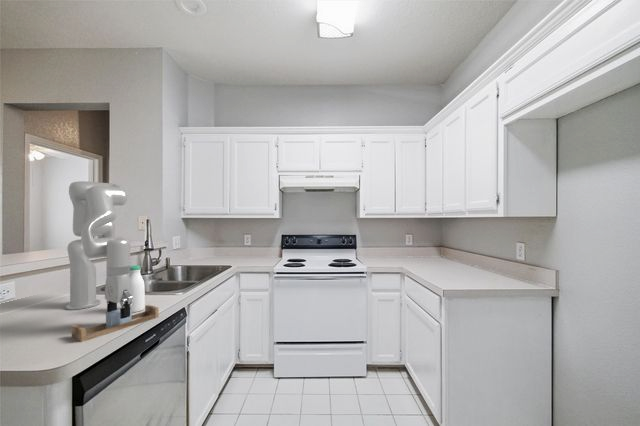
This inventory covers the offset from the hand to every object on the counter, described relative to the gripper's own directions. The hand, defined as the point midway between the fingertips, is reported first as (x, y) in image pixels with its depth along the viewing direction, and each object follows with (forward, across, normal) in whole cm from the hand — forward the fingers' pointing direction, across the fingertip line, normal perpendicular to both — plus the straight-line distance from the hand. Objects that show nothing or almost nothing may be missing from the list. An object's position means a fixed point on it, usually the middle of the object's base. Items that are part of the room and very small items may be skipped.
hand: (118, 315), depth 109 cm
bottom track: (+4, 0, 0) cm, 4 cm away
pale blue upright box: (+4, 0, 0) cm, 4 cm away
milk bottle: (+4, -14, +13) cm, 19 cm away
